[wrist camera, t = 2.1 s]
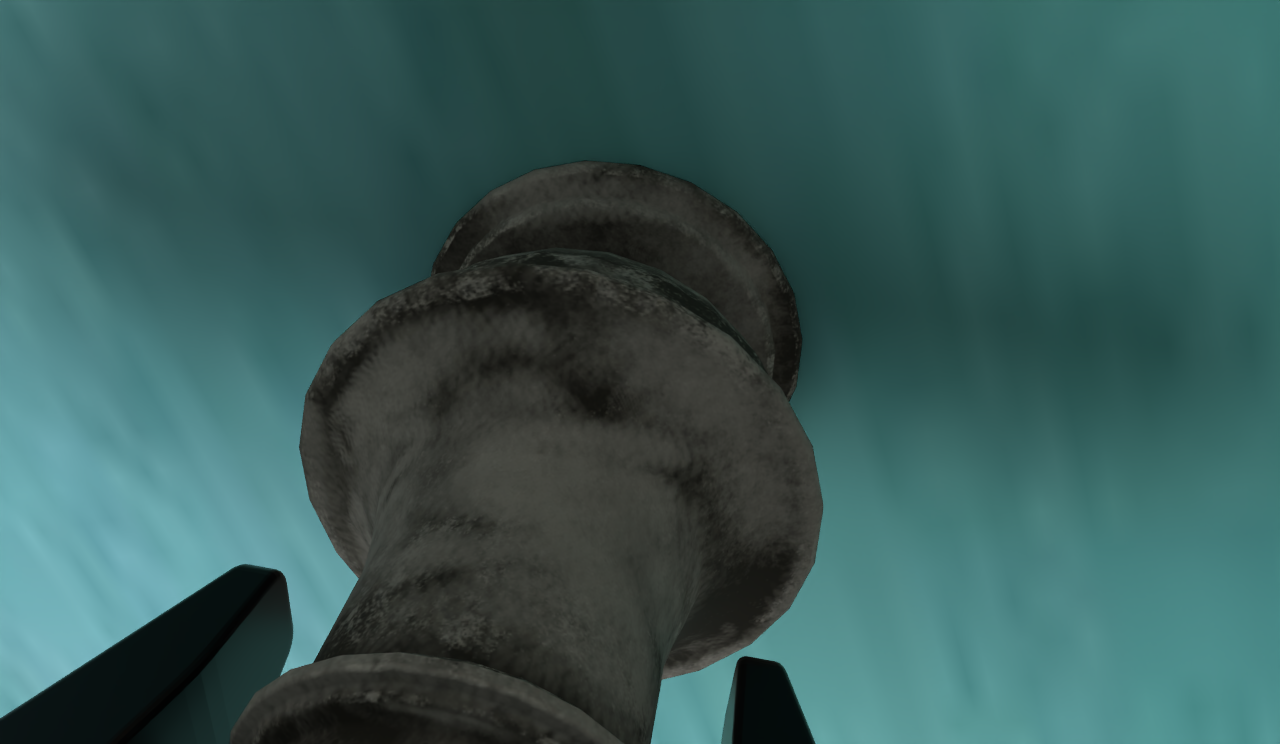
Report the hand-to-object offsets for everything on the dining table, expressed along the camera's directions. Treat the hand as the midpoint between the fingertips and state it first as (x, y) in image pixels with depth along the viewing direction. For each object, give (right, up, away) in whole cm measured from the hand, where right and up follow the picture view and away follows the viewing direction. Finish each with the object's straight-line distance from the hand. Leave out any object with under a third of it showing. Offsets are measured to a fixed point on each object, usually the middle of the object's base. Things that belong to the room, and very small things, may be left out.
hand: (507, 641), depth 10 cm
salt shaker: (+1, +3, +5) cm, 6 cm away
